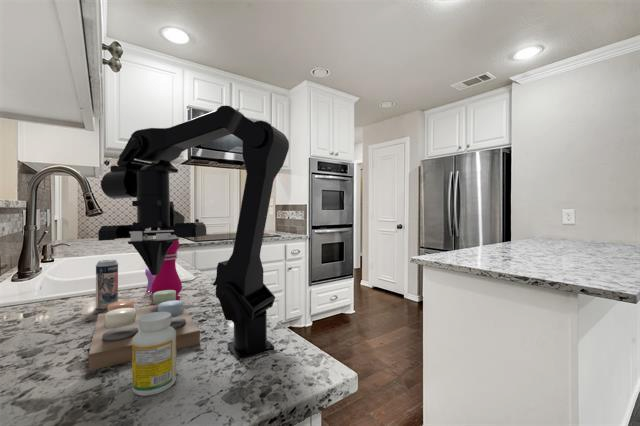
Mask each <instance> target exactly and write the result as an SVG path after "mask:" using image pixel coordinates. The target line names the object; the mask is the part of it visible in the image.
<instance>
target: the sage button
mask: <svg viewBox="0 0 640 426" xmlns="http://www.w3.org/2000/svg"><path fill="white" fill-rule="evenodd" d="M152 295H153V296H152V300H153V302H152V304H157V305H159V304H160V303H163V302H167V301H174V300H176V291H175V290H163V291H158V292H155V293H153V294H152Z"/></svg>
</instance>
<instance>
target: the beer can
mask: <svg viewBox="0 0 640 426" xmlns="http://www.w3.org/2000/svg"><path fill="white" fill-rule="evenodd" d="M114 302H119V262H118V261H117V260H116V259H104V260H103V259H102V260H98V261H97V263H96V265H95V308H96V309H99V310H108V305H109V304H111V303H114Z"/></svg>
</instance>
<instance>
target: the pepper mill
mask: <svg viewBox="0 0 640 426" xmlns="http://www.w3.org/2000/svg"><path fill="white" fill-rule="evenodd" d="M178 249H180V240H178V241H174V242H173V244H172V245H171V246H170V247H169V249H168V251H167V253H166V256H165V259H164V261H163V264H162V267H161V270H160V273H159V274H158V275H156V276H155V279H154V281H153V283H152V287H151V292H150V293H151V295H153V293H155V292H158V291H163V290H175V291H176V300H180V301H181V296H180V295H179V294H180V292H181V291H182V289H183V285H182V280H181V278H180V276H179V274H178V271H177V268H176V267H177V266H176V261H177V259H178ZM176 251H177V253H176ZM152 304H153V303H152ZM154 305H157V304H153V305H152V306H154Z"/></svg>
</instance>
